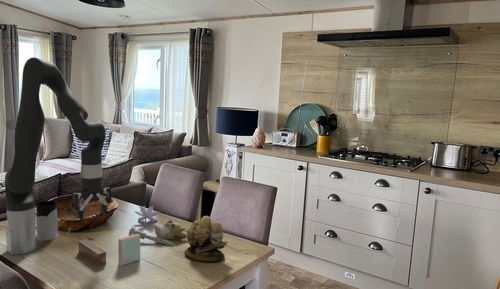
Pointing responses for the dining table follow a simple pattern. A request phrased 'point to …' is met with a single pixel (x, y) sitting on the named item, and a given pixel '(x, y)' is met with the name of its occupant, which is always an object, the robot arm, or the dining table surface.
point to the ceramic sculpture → (170, 231)
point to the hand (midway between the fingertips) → (92, 216)
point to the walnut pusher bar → (92, 252)
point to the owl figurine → (205, 241)
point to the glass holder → (46, 220)
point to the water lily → (147, 213)
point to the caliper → (149, 237)
